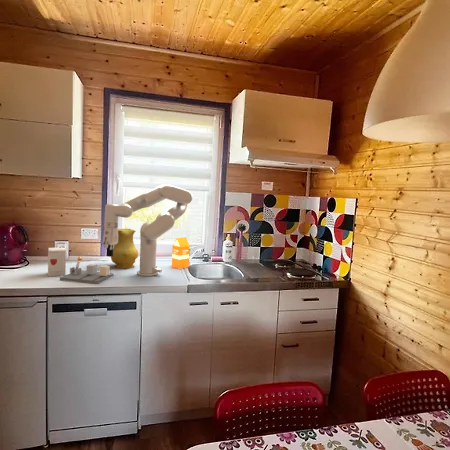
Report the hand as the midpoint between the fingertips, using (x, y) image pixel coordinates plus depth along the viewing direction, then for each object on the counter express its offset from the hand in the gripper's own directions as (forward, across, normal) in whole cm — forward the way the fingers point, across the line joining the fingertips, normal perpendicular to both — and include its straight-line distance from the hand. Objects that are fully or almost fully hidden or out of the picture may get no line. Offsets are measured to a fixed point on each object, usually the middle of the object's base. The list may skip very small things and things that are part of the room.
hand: (109, 256), depth 201 cm
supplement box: (+12, -8, +28) cm, 31 cm away
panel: (+12, -10, +8) cm, 17 cm away
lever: (+9, -10, +15) cm, 20 cm away
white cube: (+10, -7, +7) cm, 14 cm away
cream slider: (+10, -6, -1) cm, 12 cm away
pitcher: (+11, +25, +3) cm, 27 cm away
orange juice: (+10, +38, -32) cm, 51 cm away
